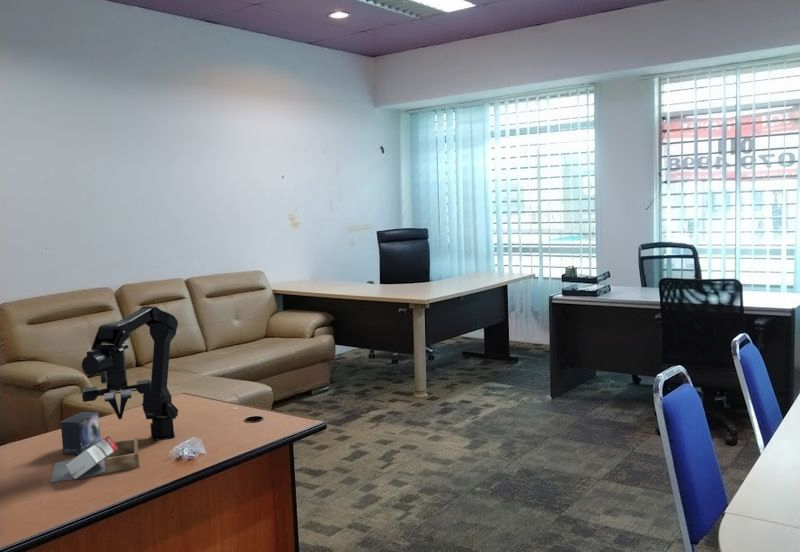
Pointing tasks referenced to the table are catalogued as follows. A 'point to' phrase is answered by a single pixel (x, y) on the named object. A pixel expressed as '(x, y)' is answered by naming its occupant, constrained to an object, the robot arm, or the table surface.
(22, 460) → the table surface
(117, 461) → the corral
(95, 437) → the small box
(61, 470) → the felt pad
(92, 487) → the table surface
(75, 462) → the ink box
